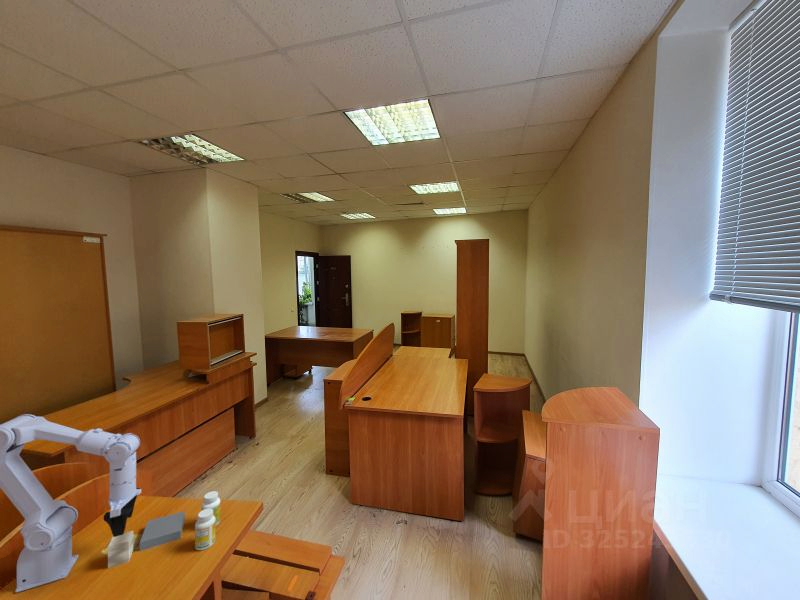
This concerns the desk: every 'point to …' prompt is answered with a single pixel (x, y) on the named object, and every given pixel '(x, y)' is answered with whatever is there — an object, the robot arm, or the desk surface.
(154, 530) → the base block
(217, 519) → the supplement bottle
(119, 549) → the cream block
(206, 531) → the supplement bottle
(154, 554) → the desk surface
